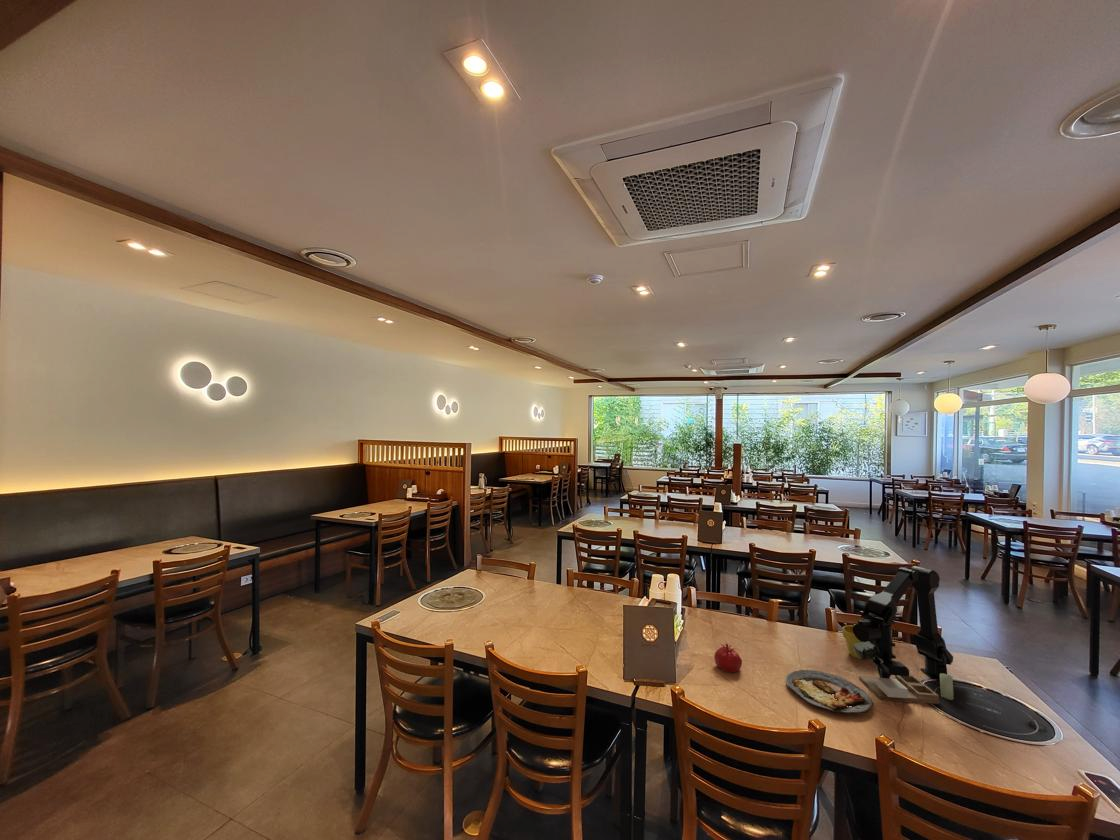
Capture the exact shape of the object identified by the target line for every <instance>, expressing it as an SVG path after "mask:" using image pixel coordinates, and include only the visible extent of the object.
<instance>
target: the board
mask: <svg viewBox="0 0 1120 840" xmlns="http://www.w3.org/2000/svg"><path fill="white" fill-rule="evenodd" d="M894 676H895V677H890V678H891V679H897V680H898V681H899V682H900V683H901V684H902V685H904V686H905V687H906V688H907V689H908V698H896V697H888V696H887V695H886V694H885V693H884V692H883V691H882V690H881V689H880V688H878V687H877V678H880V676H867V675H858V677H859V681H860V682H861V683H862V684H863V685H864V686H865V687H866V688H867V689H868V690H869V691H870V692H872V694H873V695H874V696H875V697H876V698H877V699H878V700H881V701H882V700H883V701H894V702H895V701H897V702H907V703H908V702H909V703H910V702H911V703H920V704H921V703H922V704H923V703H924V704H933V705H939V704H940V699H939V698H940V696H939V694H937V693H936V692H935V691H934V690H932V689H931V688H930V687H928V685H926V684H925V683H924V682H922V681H921V680H920V679H919V678H917V677H916V675H913V674H912V675H911V674H910V676H897V675H894Z"/></svg>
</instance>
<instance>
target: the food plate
mask: <svg viewBox="0 0 1120 840" xmlns="http://www.w3.org/2000/svg"><path fill="white" fill-rule="evenodd" d="M809 682H812V683H813V684H811V683H809ZM785 683H786V685H787V686H788V687H789V688H790V689H792V690H793V692H794V693H796V694H797V695H799V696H800V697H801V698H802V699H804V700H805V701H806V702H807V703H809V704H811V705H812V706H814V707H816V708H820V709H824V710H827V711H829V712H830V711H831V712H833V713H840V714H859V713H861V714H864V713H868V712H869V711H870V710H871V708H872V707H874V702H873V698H871V697H870V694H868V693H867V692H866V691H865V690H863V689H862V688H861V687H859V686H857V685H856V684H854V683H853V682H851V681H849V680H847V678H844V677H841V676H840V675H836V674H834V673H828V672H825V671H821V670H814V669H801V670H796V671H795V670H793V671H791V672H790V673H789V674H787V675H786V676H785ZM829 684H830V685H832V686H833V687H832V686H830V685H829ZM836 687H837V688H839V689H837V688H836ZM822 690H823V692H822ZM825 693H827V694H831V695H832V694H834V698H835V699H837V700H834V699H833V698H831V697H830V696H828V695H826V694H825ZM847 706H848V707H847ZM849 706H852V707H849Z"/></svg>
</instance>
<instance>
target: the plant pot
mask: <svg viewBox="0 0 1120 840" xmlns="http://www.w3.org/2000/svg"><path fill="white" fill-rule="evenodd" d="M853 626H854V625H850V624H849V625H844V626H842V636H843V638H844V640H845V642H846V646H847V651H848V654H849V655H851V656H852V657H854V658H856V659H860V660H863V659H862V658H861V657H860V656H859V655H857V653H856V651H855V648H854V646H853V645H854V644H857V643H860V642H861V641H860V640H858V639H857V638H856V637H855V635H854V633H853Z"/></svg>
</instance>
